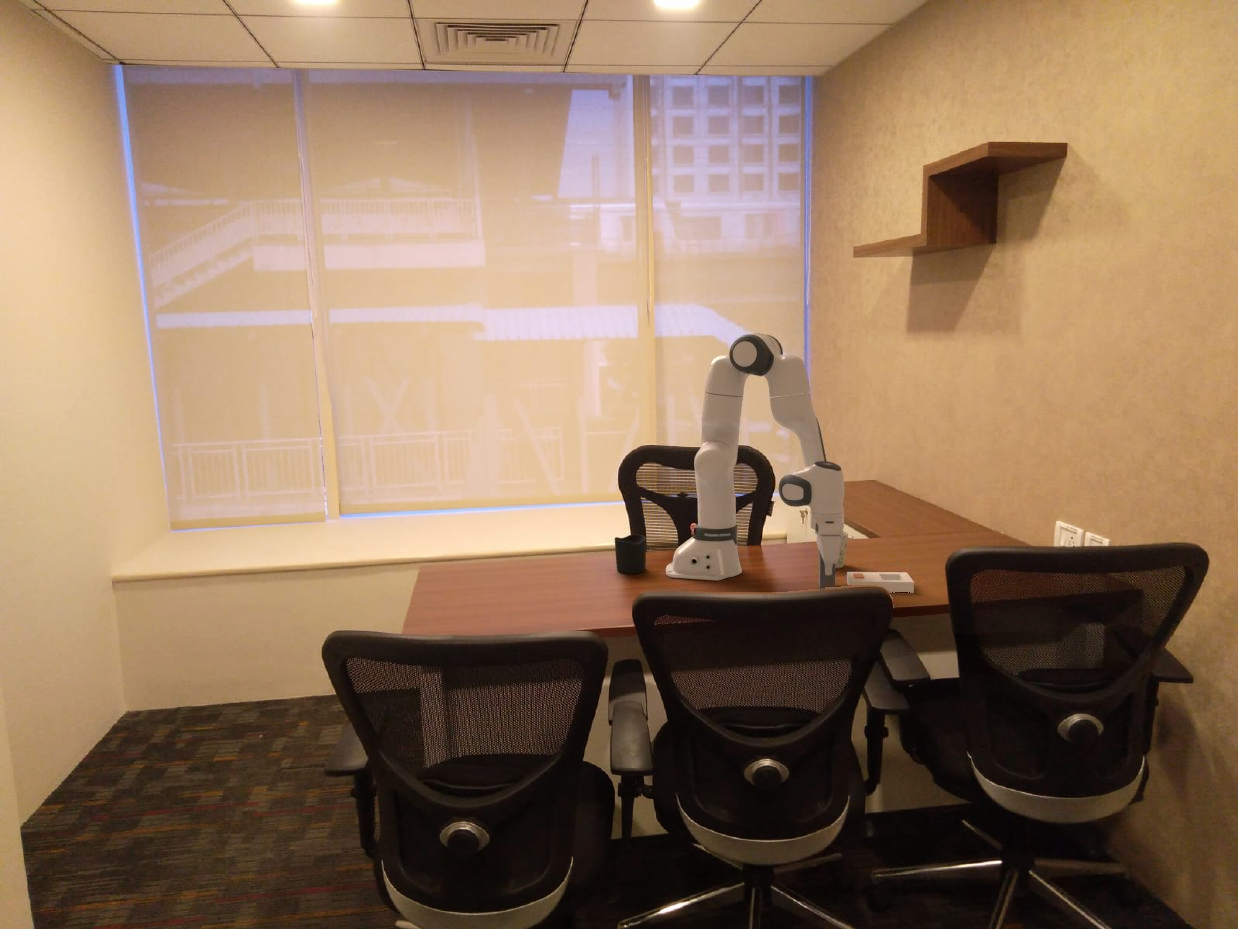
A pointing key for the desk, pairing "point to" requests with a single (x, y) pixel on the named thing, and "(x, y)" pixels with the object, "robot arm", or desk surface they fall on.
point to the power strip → (883, 580)
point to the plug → (825, 579)
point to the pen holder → (630, 554)
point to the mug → (842, 550)
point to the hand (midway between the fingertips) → (826, 570)
